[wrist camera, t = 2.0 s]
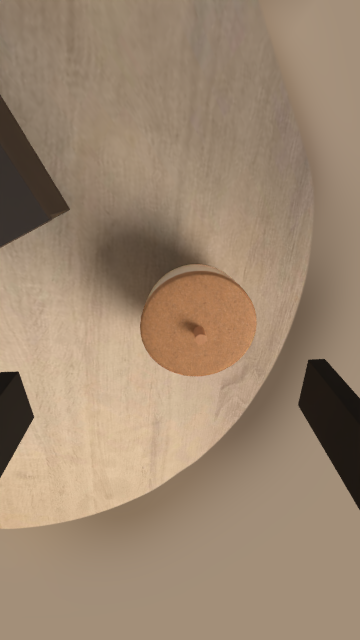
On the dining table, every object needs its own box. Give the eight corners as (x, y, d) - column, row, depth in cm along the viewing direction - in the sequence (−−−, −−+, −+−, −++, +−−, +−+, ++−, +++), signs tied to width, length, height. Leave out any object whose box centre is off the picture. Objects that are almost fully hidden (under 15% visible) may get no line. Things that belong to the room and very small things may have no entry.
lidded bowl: (151, 341, 35) (146, 392, 26) (139, 256, 30) (129, 285, 22) (236, 334, 35) (258, 383, 26) (238, 248, 30) (266, 274, 22)
